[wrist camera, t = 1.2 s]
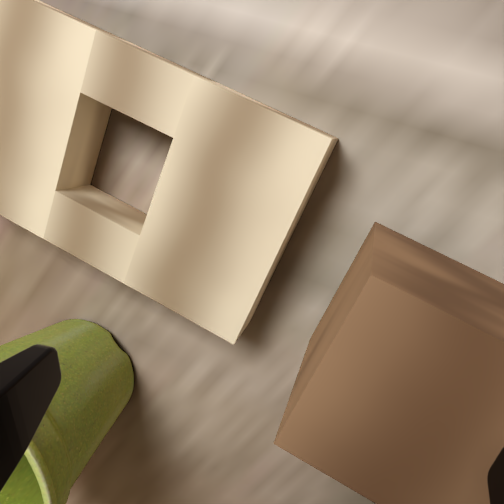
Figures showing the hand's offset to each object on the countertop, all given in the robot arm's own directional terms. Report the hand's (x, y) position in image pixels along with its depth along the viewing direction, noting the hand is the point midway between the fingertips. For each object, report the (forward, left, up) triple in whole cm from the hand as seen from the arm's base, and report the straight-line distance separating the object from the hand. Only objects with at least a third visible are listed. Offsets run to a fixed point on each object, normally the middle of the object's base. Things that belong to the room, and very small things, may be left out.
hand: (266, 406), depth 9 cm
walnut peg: (-4, 0, -11) cm, 12 cm away
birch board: (+10, 0, -11) cm, 15 cm away
